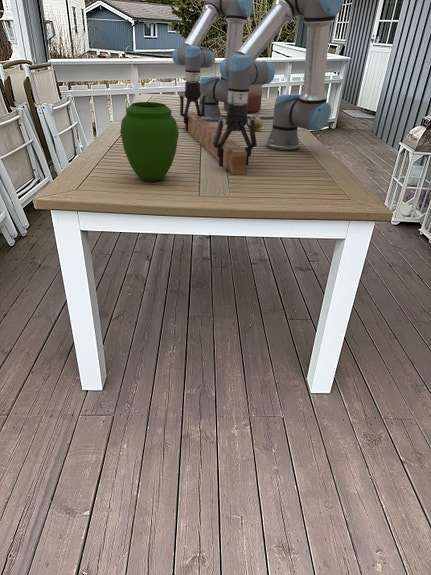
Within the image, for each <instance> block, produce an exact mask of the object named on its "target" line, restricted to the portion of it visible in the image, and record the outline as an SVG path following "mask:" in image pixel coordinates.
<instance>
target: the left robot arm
mask: <svg viewBox="0 0 431 575" xmlns="http://www.w3.org/2000/svg"><path fill="white" fill-rule="evenodd" d="M253 8H254V1H253V0H207V1H206V2H205V3H204V5H203V7H202V12H201V13H200V15H199V17H198V19H197V20H196V21H195V23H194V25H193V26H192V29H191V30H190V32H189V33H188V35H187V37H186V38H185V40H184V41H183V43H182V45H181V46H180V48H175V49H174V50H173V51H172V53H171V54H172V55H171V58H172V61H173V63H174V64H175V65H178V66H180V67H181V66H183V67H185V68H184V69H185V73H184V78H185V79H184V80H185V82H184V93H183V94H179V96H178V97H179V100H180V102H179V115H180V116H181V117H183V124H184V130H185V131H186V132H188V117H187V113H188V112H189V109H190V105H191V103H194V106H195V111H196V114H197V115H198V116H200V117H201V118H202V119H204V120H205V121H207V122H218V120H219V119H221V120H222V118H226V117H227V115H223V114H221V110H220V107H219V105H220V103H224V102H225V103H228V101H227V100H228V85H229V80H227V79H224V78H223V77H222V76H221V75H220V76H206V77H201V68H202V69H203V68H207V69H208V68H210V67H213V66H214V65H215V62H216V56H215V53H214V52H212V51H211V50H207V49H205V50H202V49H201V44H202V43H203V41H204V39H205V38H206V36H207V34H208V32H209V31H210V29H211V28H212V26H213V25H214V23H215V22H218V20H219V18H220V17H225V21H226V22H227V31H226V42H225V52H224V59H225V58H231V56H232V55H234V54H235V53H236V52H237V51H238V49H239V48H240V47H241V46H242V44H243V37H244V25H245V24H246V23H247V21H248V18H249V17H251V16H252V13H253V10H254V9H253ZM185 99H186V103H185V102H184V101H185ZM184 103H185V108H184ZM250 117H251V116H248V115H247V119H249V118H250ZM259 117H260V119H261V120H269V119H273V118H274V116H259ZM185 124H186V126H185Z"/></svg>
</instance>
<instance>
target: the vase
mask: <svg viewBox="0 0 431 575" xmlns="http://www.w3.org/2000/svg"><path fill="white" fill-rule="evenodd" d="M125 113H126V114H125V115H124V117H122V119H121V122H120V123H121V124H120V130H119V133H120V138H121V142H122V147H123V150H124V154H125V155H126V158H127V160H128V163H129V165H130V167H131V168H132V170H133V172H134V173H135V175H136V176H137V177H138V178H139V179H141V180H143V181H145V182H159V181H161V180H163V179H164V178H165V176H166V175H167V174H168V173H169V170H170V169H171V167H172V165H173V162H174V159H175V157H176V156H175V155H176V153H177V147H178V140H179V129H178V122H177V120H176V119H175V117H174V116H173V115H172V109H171V108H170V107H169V106H167V105H166V104H164V103H162V102H155V101H138V102H132V103H131V104H130V105H128V107H127V108H125Z"/></svg>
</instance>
